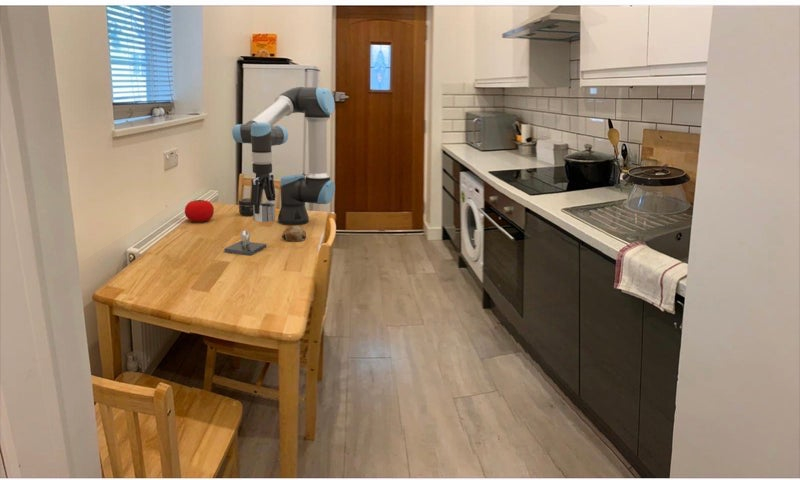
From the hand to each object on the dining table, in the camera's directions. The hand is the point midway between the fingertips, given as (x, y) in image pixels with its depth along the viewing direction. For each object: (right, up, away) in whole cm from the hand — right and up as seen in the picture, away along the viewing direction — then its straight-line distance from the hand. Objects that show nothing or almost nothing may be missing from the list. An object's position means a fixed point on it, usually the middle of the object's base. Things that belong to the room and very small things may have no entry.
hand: (264, 218), depth 220 cm
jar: (-24, +4, +63) cm, 67 cm away
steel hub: (0, 0, 0) cm, 0 cm away
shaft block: (-8, -13, +3) cm, 16 cm away
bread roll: (+8, -9, +21) cm, 24 cm away
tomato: (-43, +1, +47) cm, 64 cm away
